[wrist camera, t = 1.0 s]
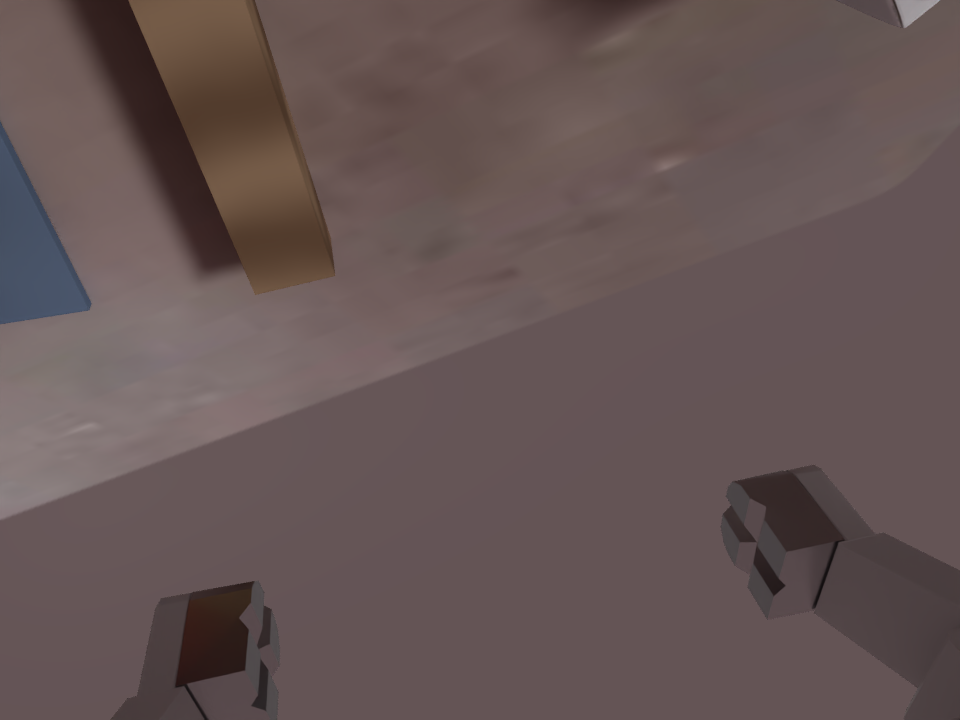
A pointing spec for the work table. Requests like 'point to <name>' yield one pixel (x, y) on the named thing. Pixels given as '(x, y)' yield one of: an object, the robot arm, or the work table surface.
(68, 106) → the work table surface
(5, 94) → the work table surface
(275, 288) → the beam
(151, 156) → the work table surface
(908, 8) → the light bulb box
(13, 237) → the board
